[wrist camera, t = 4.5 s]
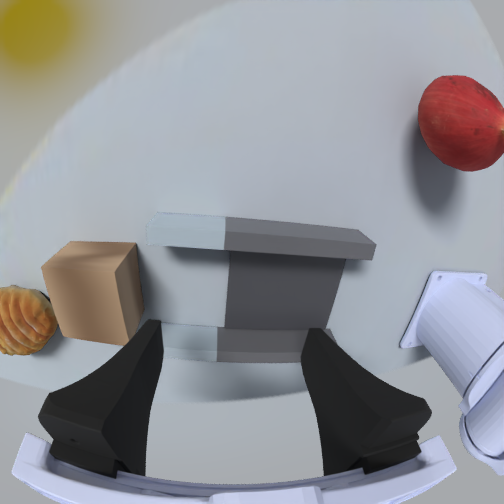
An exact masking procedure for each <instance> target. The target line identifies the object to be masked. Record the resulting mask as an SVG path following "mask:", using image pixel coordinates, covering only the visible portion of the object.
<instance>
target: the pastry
mask: <svg viewBox="0 0 504 504" xmlns="http://www.w3.org/2000/svg"><path fill="white" fill-rule="evenodd" d="M57 325H58V321H57V318H56V316H55V313H54V310H53V307H52V305H51V303H50V302H49V301H48V300H47V299H46V298H45V297H44V295H43V294H42V293H41V292H40V291H38V290H36V289H25V288H20V287H18V286H16V285H11V286H9V287H2V288H0V351H1V352H2V353H3V354H9V355H14V354H17V355H30V354H32V353H35V352H37V351H40V350H41V349H42V348H43V347H44V345H45V344H46V343H47V342H48V340H49V339H50V338H51V337H52V335H53V334H54V333H55V331H56V328H57Z"/></svg>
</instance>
